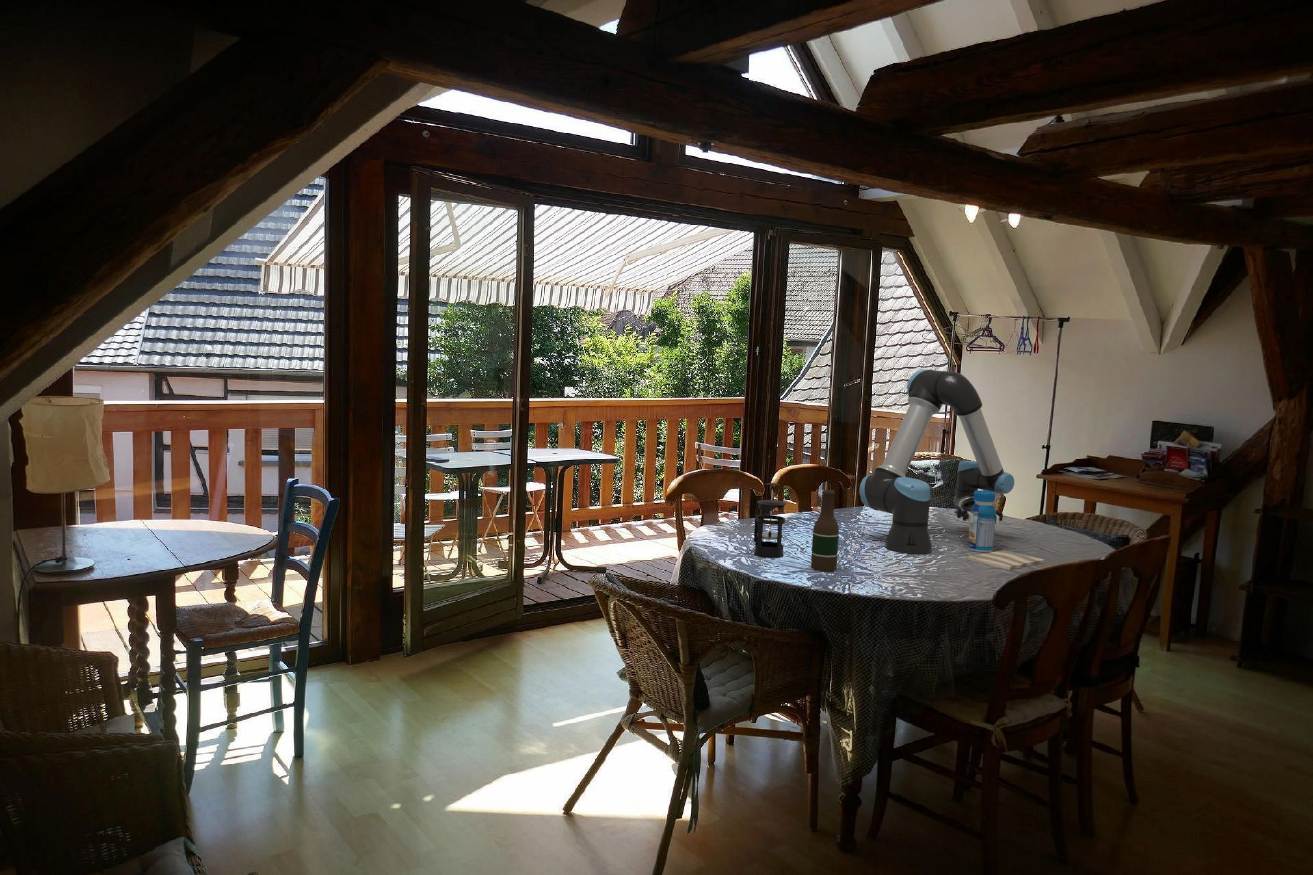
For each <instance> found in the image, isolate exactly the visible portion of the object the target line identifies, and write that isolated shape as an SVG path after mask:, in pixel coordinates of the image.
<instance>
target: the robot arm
mask: <svg viewBox="0 0 1313 875" xmlns="http://www.w3.org/2000/svg"><path fill="white" fill-rule="evenodd" d="M906 389H907V390H906V393H907V396H908V398H907V402H908V405H909V406H908V408H907V410H906V412H905V414H904V417H903V418H902V421H901V423H900V424H899V425H900V426H899V428H898V430H897V432H896V434H895V436H894V439H893V440H892V442H891V444H890V446H889V449H888V451H887V453H886V456H885V457H884V459H883V462H882V464H881V465H879V466H878V465H877V466H875V469H874V471H873V473H872V474H868V475H867V476H865V477H863V478H862V480H861V482H860V484H859V496H860V500H861V502H862V504H863V505H864V506H866V507H867V508H869V509H871V510H874V511H876V512H877V511H879V512H884V513H888V514H891V515H892V518H891V519H892V520H891V526H890V528H889V531H888V534H887V535H886V539H885V543H884V544H885V546H884V547H885V548H886V549H887V550H890V551H893V552H897V553H904V554H915V555H922V554H924V555H925V554H930V553H931V552H932V547H933V543H932V542H931V541H932V540H931V535H930V532H929V519H930V518H929V516H930V509H931V508H930V507H931V486H930V485H929V483H927V482H926V481H923V480H922V479H917V478H912V477H909V476H908V477H907V476H906V474H907V472H908V470H909V468H910V466H911V463H912V460H914V457H915V455H916V452H917V450H918V449H919V446H920V444H921V441H922V439H923V437H924V435H925V433H926V430H927V428H928V427H929V424H930V422H931V420H932V417H933V416H934V415H937V414H939V413H940V411H941V409H942V407H943V405H945V406H946V405H947V406H949V407H950V408H952V410H953V412H954V415H955V416H958V417H959V421H960V422H961V423H960V424H961V425H962V427H963V430H964V432H965V435H966V438H967V440H968V443H969V446H970V448H971V451H972V453H973V456H974V459H975V460H976V461H975V460H961V461H959V463H958V468H957V472H956V473H957V475H956V476H957V478H956V490H955V495H954V497H953V505H954V514H955V515H956V517H957V519H962V521H964V522H966V521H968V522H969V524H970V523H973V514H971V512H970V510H971V508H972V506H973V505H974V503H975V502H976V501H974V492H975V491H978V490H982V491H991V492H994V493H995V494H1004V495H1006V494H1009V493H1010V492H1012V490H1013V489H1014V486H1015V478H1014V476H1013V475H1012V474H1011V473H1010V472H1006V471H1005V470H1004V468H1003V466H1002V462H1001V460H1000V458H999V457H1000V456H999V454H998V452H997V448H996V446H995V444H994V441H993V438H992V435H991V433H990V430H989V428H988V426H987V422H986V419H985V417H984V414H983V411H982V407H983V402H982V400H981V398H980V394H979V392H978V391H977V389H976V387H974V385H973V384H972V383H971V381H970V380H969V379H968V378H967V377H965V376H964V375H963V374H961V373H960V372H956V371H953V370H952V371H951V370H949V371H947V370H936V369H935V370H934V369H921V370H917V371H915V373H913V374H912V375H910V378H909V380H908V382H907V385H906ZM995 510H996V514H995V519H996V523H995V525H999V524H1000V523H999V522H1002V521H1003V517H1004V513H1003V512H1001V511H998V510H997V509H995Z"/></svg>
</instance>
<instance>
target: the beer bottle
mask: <svg viewBox="0 0 1313 875" xmlns="http://www.w3.org/2000/svg"><path fill="white" fill-rule="evenodd" d="M835 493H836V492H835V490H832V489H823V490H822V493H821V494H822V501H821V508H820V514H819V517H818V518H817V519H816V520H815V523H814V526H813V530H812V539H811V540H812V543H811V557H810V558H811V560H810V566H811V569H813V570H815V571H817V572H826V573H827V572H834V571H836V569H837V566H838V565H837V564H838V553H839V552H838V551H839V537H840V530H839V528H840V527H839V524H838V523H839V522H837V520H836V518H835V514H834V513H835V511H834V510H835V509H834V504H835V502H834V500H835V499H834V497H835V496H834V495H835Z"/></svg>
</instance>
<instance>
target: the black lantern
mask: <svg viewBox="0 0 1313 875" xmlns="http://www.w3.org/2000/svg"><path fill="white" fill-rule="evenodd" d="M765 485H766V486H770V490H771V499H762V500H757V502H756V503H757V504H758V509H759V510H760V511H765V512H770V514H755V516H754V532H753V542H754V543H755V544H754V551H753V555H754V556H756V557H760V558H765V559H766V558H767V559H778V558H779V559H780V558H783V557H784V555H785V554H784V544H782V539H783V538H784V535H783V525H784V524H785V522H786V517H783V516H780V515H774V514H772V513H773V510H776V508H777V509H782V510H785V506H786V505H787V503H786V502H785V501H780V500H775V499H773V497H774V493H773V492H774V489H775V486H776V487H777V486H779V487H780V484H779V483H776V482H768V483H765ZM764 524H765V525H769V530H768V531H764ZM772 525H774V526H775V525H777V532H772V530H771V529H772ZM763 540H767V541H763ZM768 540H776V541H768Z"/></svg>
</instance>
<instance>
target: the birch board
mask: <svg viewBox="0 0 1313 875" xmlns="http://www.w3.org/2000/svg"><path fill="white" fill-rule="evenodd" d="M966 558H967V561H971V562H975V563H979V564H984V565H986V566H992V567H995V568H999V569H1004V570H1007V571H1010V570H1016V569H1020V568H1024V567H1029V566H1035V565H1039V564H1044V563H1045V559H1043V558H1039V557H1035V556H1030V555H1025V554H1020V553H1016V552H1014V551H1013V552H1012V551H1007V550H998V551H996V550H995V551H992V552H984V553H980V554H974V555H970V556H969V555H968V556H967V557H966Z"/></svg>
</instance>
